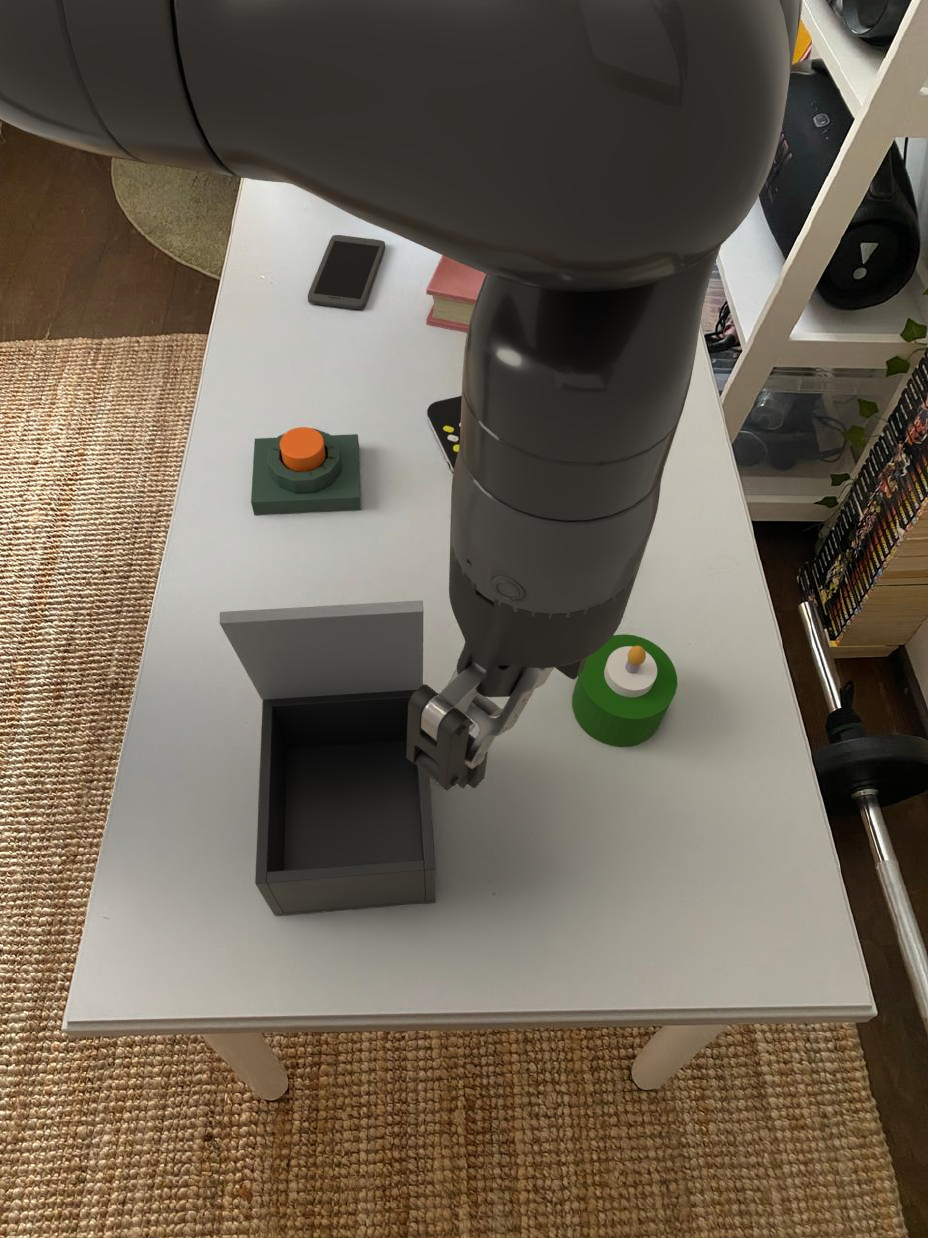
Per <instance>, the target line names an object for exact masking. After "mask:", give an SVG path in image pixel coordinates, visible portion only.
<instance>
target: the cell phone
mask: <svg viewBox="0 0 928 1238" xmlns="http://www.w3.org/2000/svg"><path fill="white" fill-rule="evenodd" d="M385 250H386V242H385V241H384V240H380V239H375V238H368V237H367V238H366V237H359V236H351V235H342V234H334V235H332V236H330V239H329V242H328V244H327V246H326V249H325V250H324V253H323V256H322V259H321V261H320V263H319V266H318V268H317V270H316V273H315V275H314V278H313V280H312V283H311V285H310V287H309V290H308V293H307V301H308V303H310V304H313V305H320V306H328V307H335V308H342V309H343V308H345V309H351V310H362V309H364V308H365V307H366V305H367V302H368V299H369V297H370V294H371V292H372V291H371V290H372V288H373V285H374V282H375V280H376V277H377V273H378V271H379V269H380V265H381V262H382V260H383V256H384V254H385Z"/></svg>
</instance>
